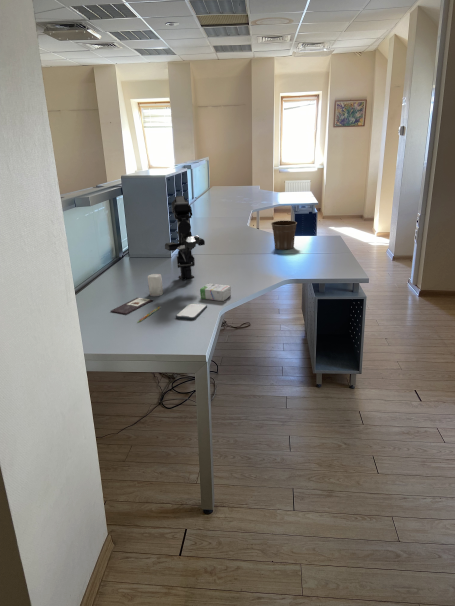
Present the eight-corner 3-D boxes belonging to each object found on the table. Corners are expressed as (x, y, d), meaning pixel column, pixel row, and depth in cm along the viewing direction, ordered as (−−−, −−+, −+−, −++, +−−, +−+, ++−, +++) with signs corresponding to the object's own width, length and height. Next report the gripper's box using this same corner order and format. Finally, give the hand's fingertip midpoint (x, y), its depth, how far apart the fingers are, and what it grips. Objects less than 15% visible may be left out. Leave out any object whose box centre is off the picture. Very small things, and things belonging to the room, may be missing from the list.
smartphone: (189, 306, 197) (174, 319, 183) (189, 303, 197) (174, 315, 182) (208, 308, 195) (194, 321, 180) (208, 304, 194) (194, 317, 180)
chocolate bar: (110, 310, 194) (137, 297, 208) (110, 312, 194) (137, 299, 209) (126, 313, 189) (152, 299, 204) (126, 315, 190) (152, 301, 204)
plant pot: (290, 251, 276) (290, 226, 270) (267, 249, 284) (266, 224, 278) (300, 246, 289) (301, 221, 283) (278, 244, 297) (278, 219, 291)
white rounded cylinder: (147, 293, 214) (145, 275, 211) (160, 290, 217) (158, 273, 214) (152, 297, 209) (150, 278, 206) (165, 294, 212) (163, 276, 209)
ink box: (200, 298, 204) (223, 301, 199) (199, 288, 202) (222, 291, 197) (209, 292, 211) (231, 295, 206) (208, 283, 209) (231, 285, 204)
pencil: (138, 324, 180) (161, 308, 196) (138, 321, 180) (160, 306, 195) (135, 324, 181) (158, 308, 196) (135, 321, 180) (158, 306, 196)
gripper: (172, 235, 200) (175, 268, 206) (209, 229, 209) (211, 261, 214) (162, 231, 209) (166, 263, 215) (198, 225, 218) (200, 256, 223)
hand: (186, 261), depth 217 cm, fingers closed
